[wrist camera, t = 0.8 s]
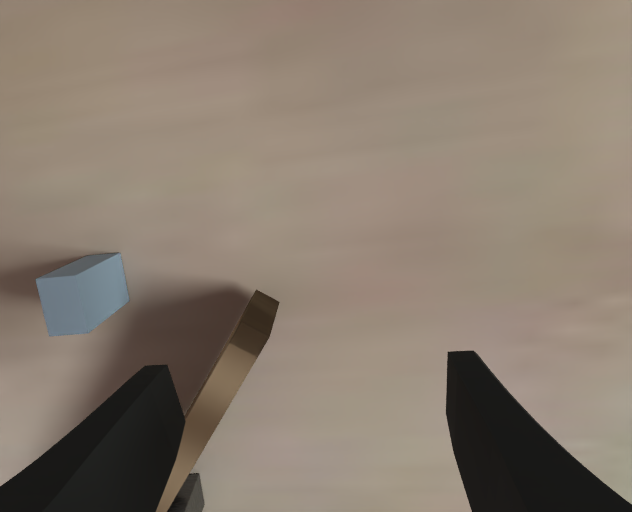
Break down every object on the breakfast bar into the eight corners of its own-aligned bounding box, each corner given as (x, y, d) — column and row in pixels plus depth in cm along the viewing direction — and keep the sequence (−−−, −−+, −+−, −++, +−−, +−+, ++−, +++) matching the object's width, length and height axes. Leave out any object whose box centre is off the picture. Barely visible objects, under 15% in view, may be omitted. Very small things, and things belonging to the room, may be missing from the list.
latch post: (129, 300, 28) (88, 333, 23) (97, 303, 28) (49, 336, 23) (120, 252, 27) (75, 275, 22) (87, 255, 27) (35, 279, 22)
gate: (174, 487, 29) (143, 557, 24) (148, 474, 29) (111, 543, 24) (281, 302, 26) (271, 339, 21) (254, 288, 26) (237, 321, 21)
